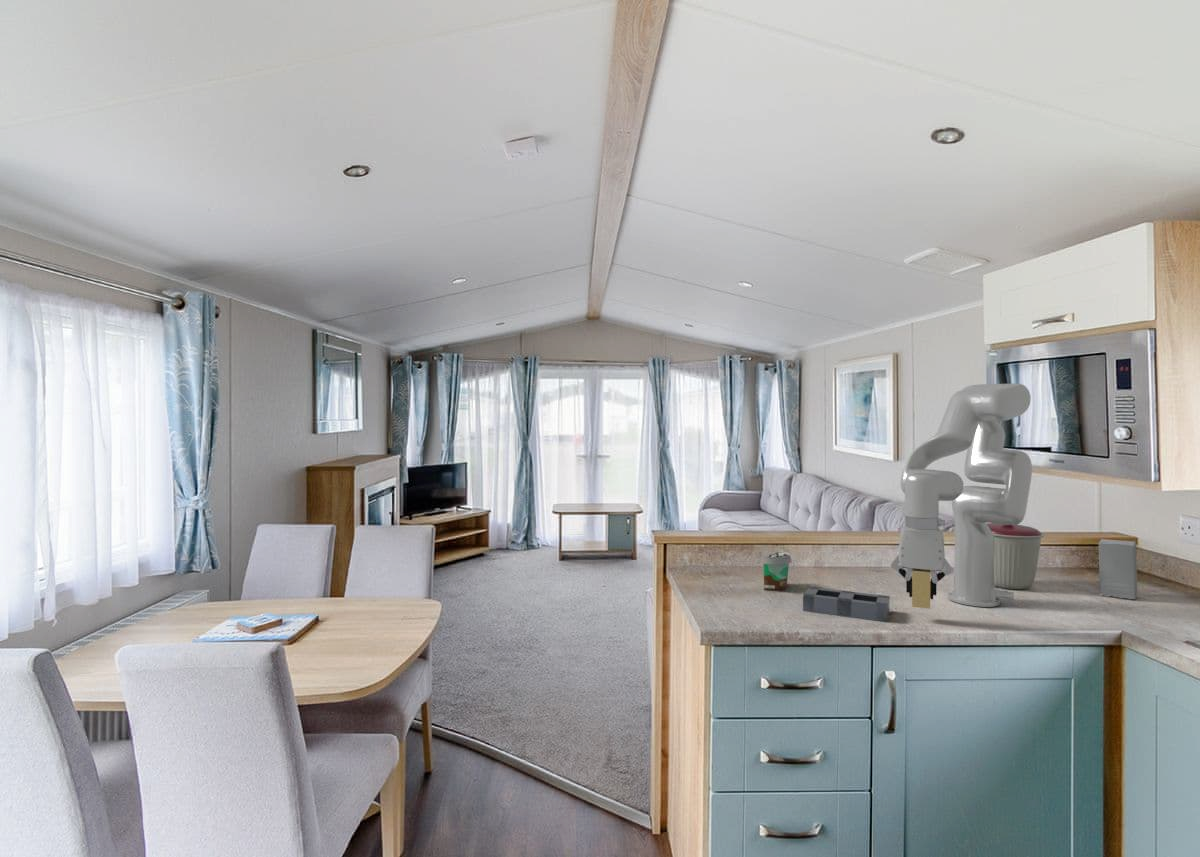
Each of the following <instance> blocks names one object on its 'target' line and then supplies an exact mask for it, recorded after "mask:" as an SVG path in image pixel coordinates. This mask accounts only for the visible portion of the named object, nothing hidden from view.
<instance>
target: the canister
mask: <svg viewBox="0 0 1200 857" xmlns="http://www.w3.org/2000/svg"><path fill="white" fill-rule="evenodd" d="M986 524H987V525H988V527H989V528H990V530H991V531H992V533H993V536H994V539H995V552H994V585H995V588H999V589H1000V588H1001V589H1007V590H1025V589H1029V588H1031V586H1033V584H1034V582H1035V579H1036V574H1037V567H1038V562H1039V557H1040V556H1039V555H1040V549H1041V541H1042V538H1043V537H1044V536H1045V534H1044V533H1043V532H1042V531H1040V530H1038V529H1037V528H1035V527H1031V526H1027V525H1021V524H1017V525H1004V524H996V523H986Z"/></svg>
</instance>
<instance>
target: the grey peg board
mask: <svg viewBox="0 0 1200 857" xmlns="http://www.w3.org/2000/svg"><path fill="white" fill-rule="evenodd" d="M890 599H891V598H890V595H882V594H873V593H865V592H860V591H859V592H857V591H848V590H839V589H834V588H832V589H831V588H824V587H823V588H822V587H815V586H809V587H808V588H807V590H806V591H805V592H804V593H803V595H802V611H803V612H810V613H818V614H823V615H824V614H825V615H831V616H838V617H845V618H846V617H847V618H854V619H861V620H869V621H873V622H874V621H875V622H883V623H888V619H889V615H890V606H891V605H890Z"/></svg>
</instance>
